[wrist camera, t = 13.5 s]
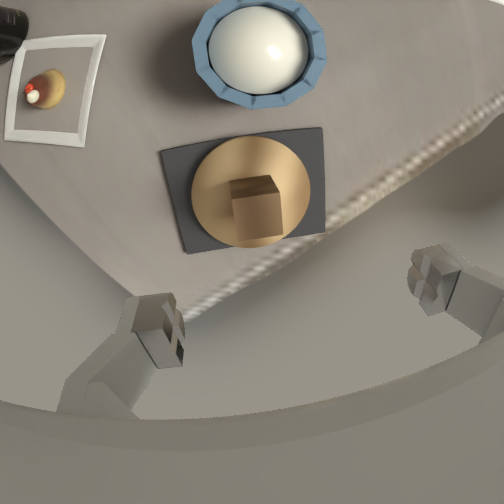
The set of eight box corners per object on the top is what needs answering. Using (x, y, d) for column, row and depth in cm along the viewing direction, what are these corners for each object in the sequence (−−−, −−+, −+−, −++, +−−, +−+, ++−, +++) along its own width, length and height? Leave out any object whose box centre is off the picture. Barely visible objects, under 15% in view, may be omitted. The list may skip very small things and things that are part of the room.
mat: (320, 127, 27) (322, 128, 26) (323, 230, 33) (325, 232, 33) (162, 150, 26) (161, 151, 26) (187, 252, 33) (187, 254, 32)
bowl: (297, 8, 20) (317, -8, 15) (309, 99, 25) (331, 103, 20) (192, 17, 20) (186, 0, 14) (206, 111, 25) (203, 116, 20)
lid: (304, 129, 26) (324, 140, 21) (309, 234, 33) (325, 264, 28) (181, 146, 26) (172, 161, 21) (204, 251, 33) (202, 284, 27)
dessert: (23, 41, 17) (-2, 39, 13) (110, 35, 19) (92, 28, 15) (8, 138, 22) (-15, 149, 18) (88, 145, 25) (68, 156, 21)
